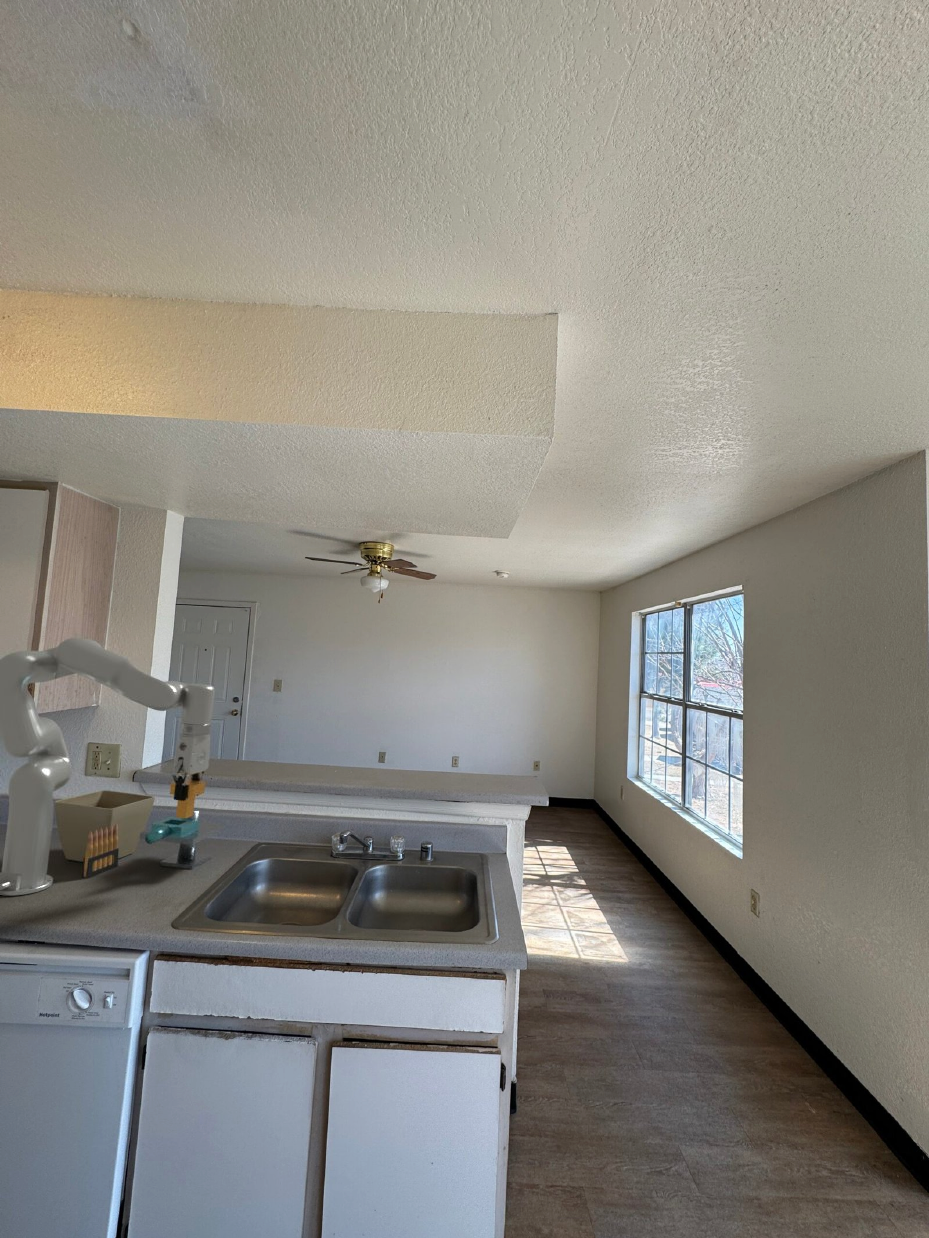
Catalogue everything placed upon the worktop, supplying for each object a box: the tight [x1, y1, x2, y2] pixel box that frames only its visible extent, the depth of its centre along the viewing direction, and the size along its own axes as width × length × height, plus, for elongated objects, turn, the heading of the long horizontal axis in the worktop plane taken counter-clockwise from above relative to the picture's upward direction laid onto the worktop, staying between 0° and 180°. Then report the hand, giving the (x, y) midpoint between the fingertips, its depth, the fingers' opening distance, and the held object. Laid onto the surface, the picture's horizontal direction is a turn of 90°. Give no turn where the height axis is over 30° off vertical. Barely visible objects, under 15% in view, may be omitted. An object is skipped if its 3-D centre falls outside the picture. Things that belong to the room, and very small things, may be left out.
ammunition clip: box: [81, 824, 119, 879], centre depth 168 cm, size 11×2×12 cm, turn 167°
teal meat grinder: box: [139, 808, 226, 870], centre depth 175 cm, size 25×16×15 cm, turn 173°
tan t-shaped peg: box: [169, 779, 206, 818], centre depth 163 cm, size 6×6×9 cm
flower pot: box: [54, 789, 156, 863], centre depth 180 cm, size 19×19×17 cm
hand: (186, 796), depth 163 cm, fingers closed on tan t-shaped peg, 5 cm apart
